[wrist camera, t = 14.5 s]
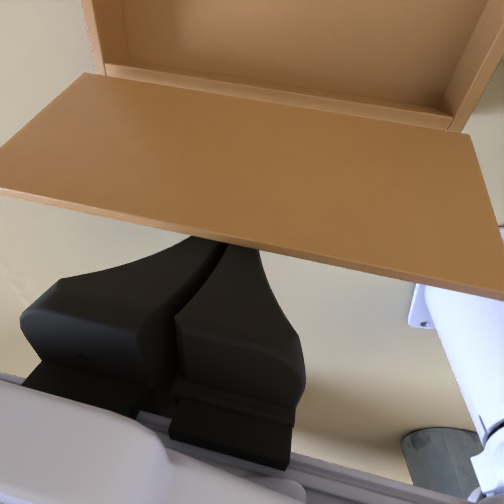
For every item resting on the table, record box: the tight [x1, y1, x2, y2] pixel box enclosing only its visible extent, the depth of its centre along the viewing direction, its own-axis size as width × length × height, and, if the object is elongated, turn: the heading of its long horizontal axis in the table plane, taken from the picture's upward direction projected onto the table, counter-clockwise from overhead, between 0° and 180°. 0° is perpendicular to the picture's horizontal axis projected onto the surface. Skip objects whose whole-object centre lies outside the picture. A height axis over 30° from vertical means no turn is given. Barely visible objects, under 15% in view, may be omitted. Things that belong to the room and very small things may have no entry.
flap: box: [0, 73, 504, 302], centre depth 9 cm, size 6×15×1 cm
